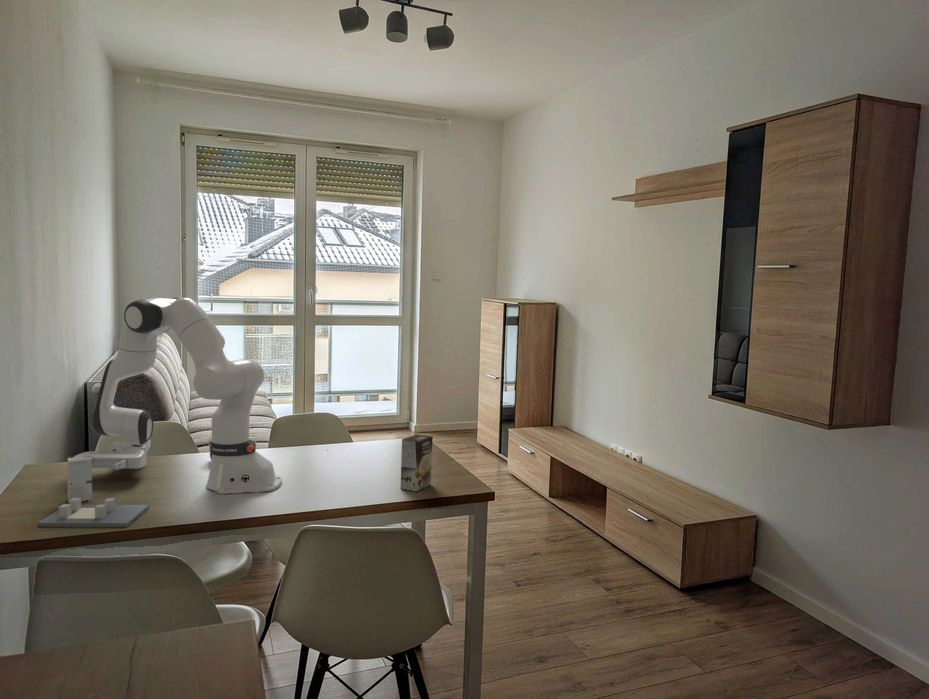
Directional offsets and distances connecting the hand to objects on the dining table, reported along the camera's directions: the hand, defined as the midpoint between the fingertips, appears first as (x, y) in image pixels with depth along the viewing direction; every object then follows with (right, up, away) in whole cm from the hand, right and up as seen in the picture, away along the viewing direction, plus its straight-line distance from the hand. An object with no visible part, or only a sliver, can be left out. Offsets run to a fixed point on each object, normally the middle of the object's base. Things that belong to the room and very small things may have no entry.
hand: (98, 467), depth 198 cm
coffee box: (+95, -9, +11) cm, 96 cm away
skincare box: (0, -8, -10) cm, 12 cm away
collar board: (+12, -9, -23) cm, 28 cm away
